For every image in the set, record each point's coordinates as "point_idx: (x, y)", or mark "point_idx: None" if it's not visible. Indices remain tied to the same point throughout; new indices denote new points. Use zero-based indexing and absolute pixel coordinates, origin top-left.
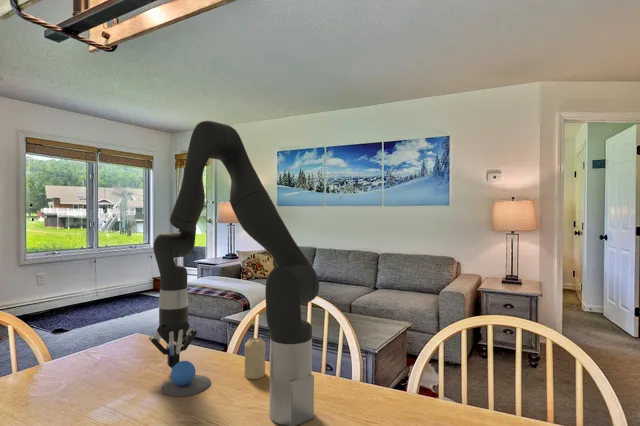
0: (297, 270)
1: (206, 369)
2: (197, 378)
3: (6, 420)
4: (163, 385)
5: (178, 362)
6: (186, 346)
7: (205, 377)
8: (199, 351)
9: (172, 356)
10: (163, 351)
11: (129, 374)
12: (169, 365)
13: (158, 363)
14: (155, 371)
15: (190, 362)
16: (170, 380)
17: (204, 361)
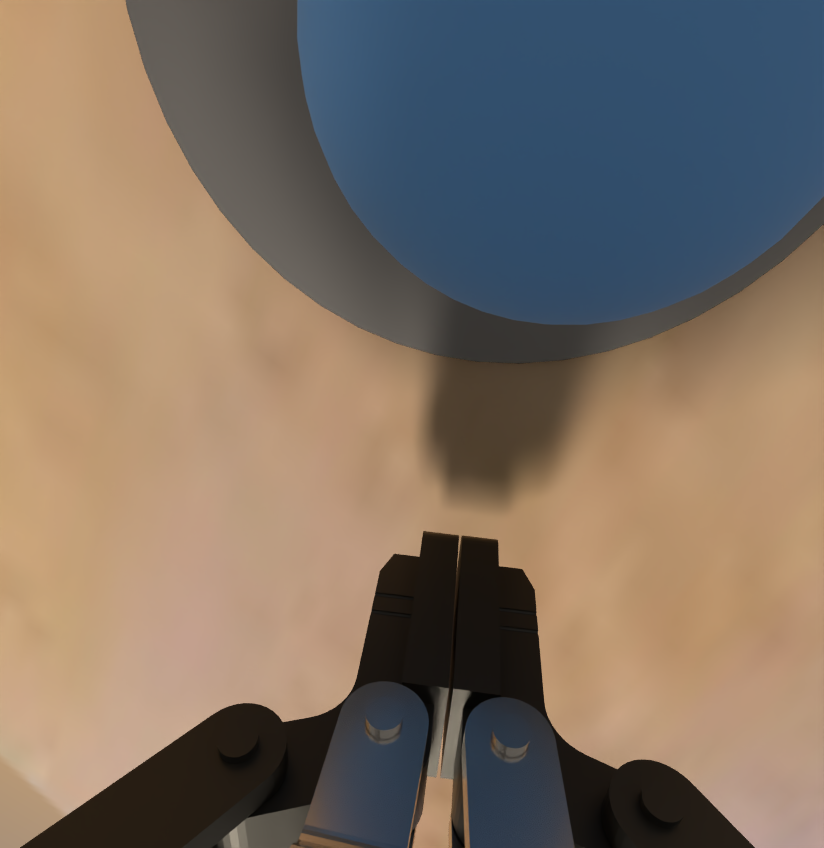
0: None
1: (82, 342)
2: (282, 102)
3: None
4: (799, 227)
5: (709, 191)
6: (185, 770)
7: (158, 46)
8: (62, 746)
9: (497, 680)
10: (709, 845)
11: (808, 745)
12: (528, 587)
13: None
14: (589, 657)
15: (374, 12)
16: (620, 326)
17: (60, 550)
